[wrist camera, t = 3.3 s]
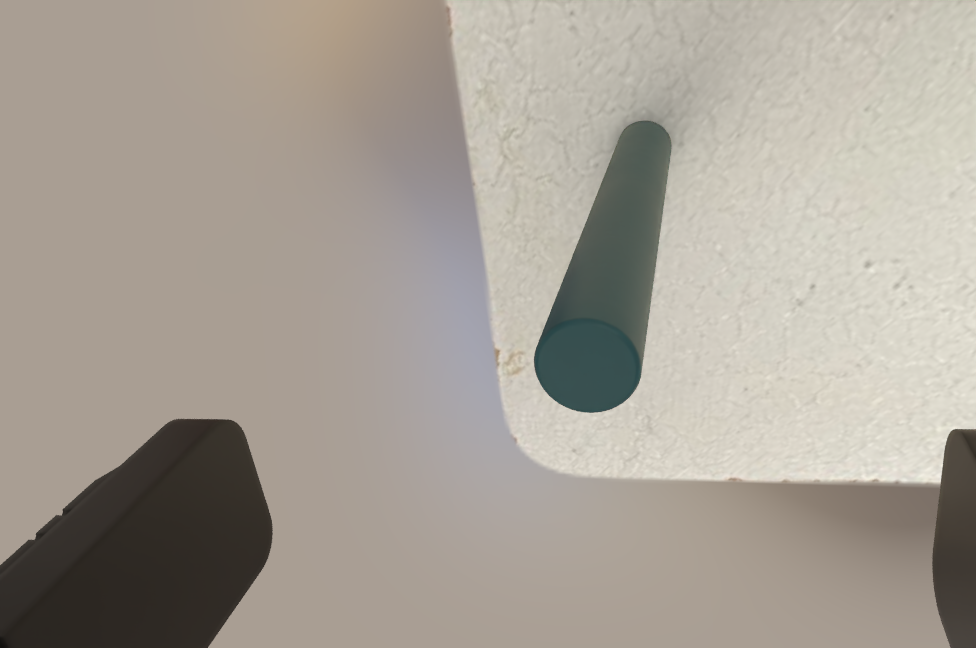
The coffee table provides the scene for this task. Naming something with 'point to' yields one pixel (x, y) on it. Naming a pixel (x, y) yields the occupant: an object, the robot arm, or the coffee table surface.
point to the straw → (609, 281)
